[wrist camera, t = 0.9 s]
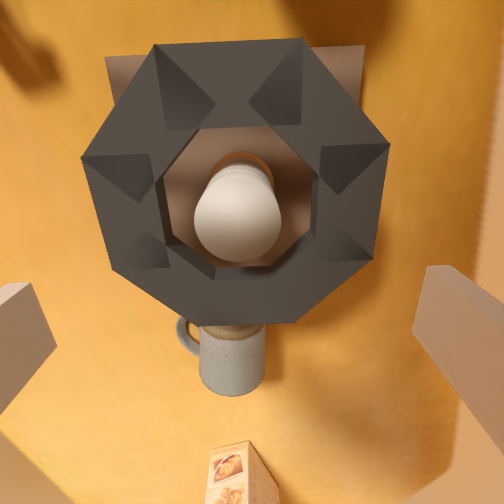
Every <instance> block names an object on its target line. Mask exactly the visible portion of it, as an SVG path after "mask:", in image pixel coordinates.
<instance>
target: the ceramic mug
mask: <svg viewBox="0 0 504 504" xmlns="http://www.w3.org/2000/svg"><path fill="white" fill-rule="evenodd" d="M186 321H187V319H185V318H184V317H182V316H180V317H179V318H178V320H177V323H176V333H177V336H178V338H179V340H180V342H181V343H182V345H183V346H184V347H185V348H186V349H187V350H189V351H190V352H191V353H192V354H194V355H196V356H198V357H199V373H200V377H201V380H202V382H203V384H204V385H205V386H206V387H207V388H208V389H209V390H211V391H213V392H214V393H216V394H219V395H222V396H229V397H235V396H241V395H245V394H248V393H250V392H252V391H253V390H254V389H256V388H257V387H258V386H259V384H260V383H261V381H262V380H263V377H264V374H265V342H266V325H265V324H253V325H228V326H203V327H200V329H199V339H200V345H199V344H198V343H197V342H195V341H194V340H193V339H192V338H191V337H190V335H189V334H188V333H187V330H186Z"/></svg>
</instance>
